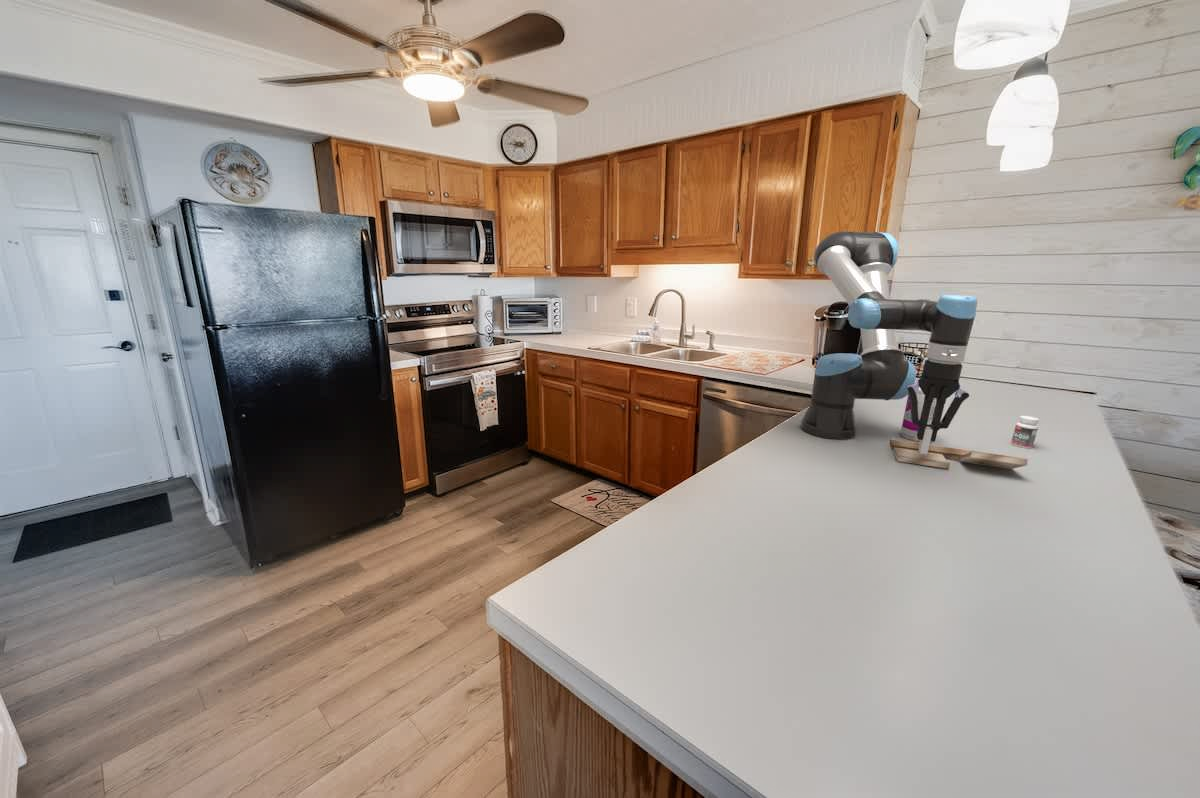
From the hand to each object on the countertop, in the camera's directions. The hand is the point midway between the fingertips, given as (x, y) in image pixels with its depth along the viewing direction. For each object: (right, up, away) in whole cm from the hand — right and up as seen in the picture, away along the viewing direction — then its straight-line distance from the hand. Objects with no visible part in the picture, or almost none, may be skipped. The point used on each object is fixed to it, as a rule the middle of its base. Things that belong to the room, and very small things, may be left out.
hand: (922, 451), depth 121 cm
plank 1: (+1, -2, +2) cm, 3 cm away
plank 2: (+15, -2, -3) cm, 15 cm away
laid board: (+11, -2, +7) cm, 13 cm away
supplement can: (+11, +2, +20) cm, 23 cm away
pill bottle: (+39, 0, +16) cm, 42 cm away
